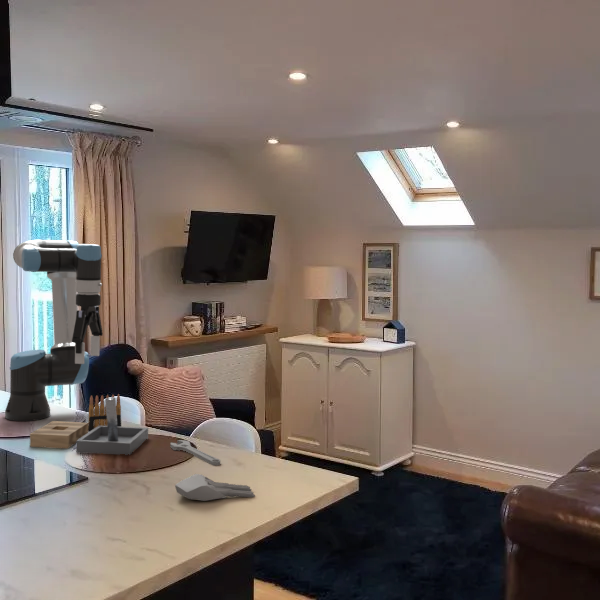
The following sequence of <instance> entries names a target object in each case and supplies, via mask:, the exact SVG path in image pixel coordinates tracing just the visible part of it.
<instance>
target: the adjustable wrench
mask: <svg viewBox="0 0 600 600" xmlns="http://www.w3.org/2000/svg"><path fill="white" fill-rule="evenodd" d="M191 445H192V444H191V442H190V441H189V440H184V439H183V440H182V439H178V440H176V442H170V447H171V448H172V450H173V451H180V450H183V451H182V452H185V451H186V453H187V452H188V453H187V454H189V453H191V454H193V455H194V456H193V455H192V456H193V457H196V458H198V459H199V460H202V461H203V462H206V463H208V464H210V465H212V466H220V465H221V459H219V458H217V457H214V456H213V455H210V454H208V453H206V452H203V451H202V450H199V449H198V448H195V447H193V446H191ZM171 448H170V449H171ZM191 454H190V455H191Z"/></svg>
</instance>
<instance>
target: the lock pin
mask: <svg viewBox="0 0 600 600" xmlns="http://www.w3.org/2000/svg"><path fill="white" fill-rule="evenodd" d="M104 403H105V405H106V416H107V429H108V441H114V442H118V428H117V414H116V403H117V399H116V397H114V398H113V397H112V396H111V397H110V396H109V398H106V397H105V399H104Z"/></svg>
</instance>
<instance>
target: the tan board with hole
mask: <svg viewBox="0 0 600 600" xmlns="http://www.w3.org/2000/svg"><path fill="white" fill-rule="evenodd" d="M88 432H89V431H88V422H82V421H81V422H80V421H79V422H78V421H60V420H59V421H57V420H52V421H50V422H48V423H47V424H45V425H43V426H41V427H39V428H38V429H36V430H34V431H33V432H31V433H30V434H29V447H30V448H31V447H32V448H50V449H66V450H67V449H70V448H71V447H73V446H74V445H76V441H77V440H78V439H80V438H81V437H82V436H84V435H85V434H87V433H88Z"/></svg>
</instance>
